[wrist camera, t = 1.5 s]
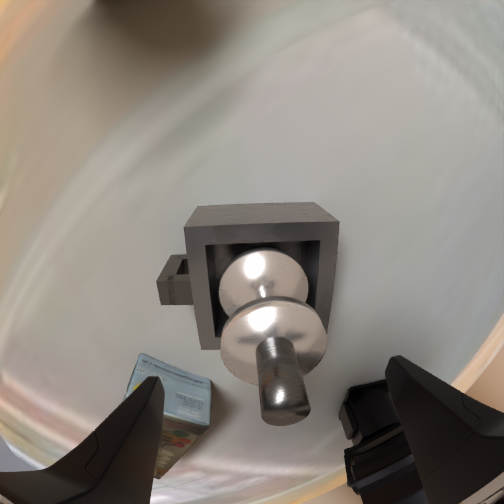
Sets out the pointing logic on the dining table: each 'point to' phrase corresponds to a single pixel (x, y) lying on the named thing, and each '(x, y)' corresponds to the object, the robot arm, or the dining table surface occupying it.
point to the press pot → (243, 239)
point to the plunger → (271, 331)
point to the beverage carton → (176, 408)
